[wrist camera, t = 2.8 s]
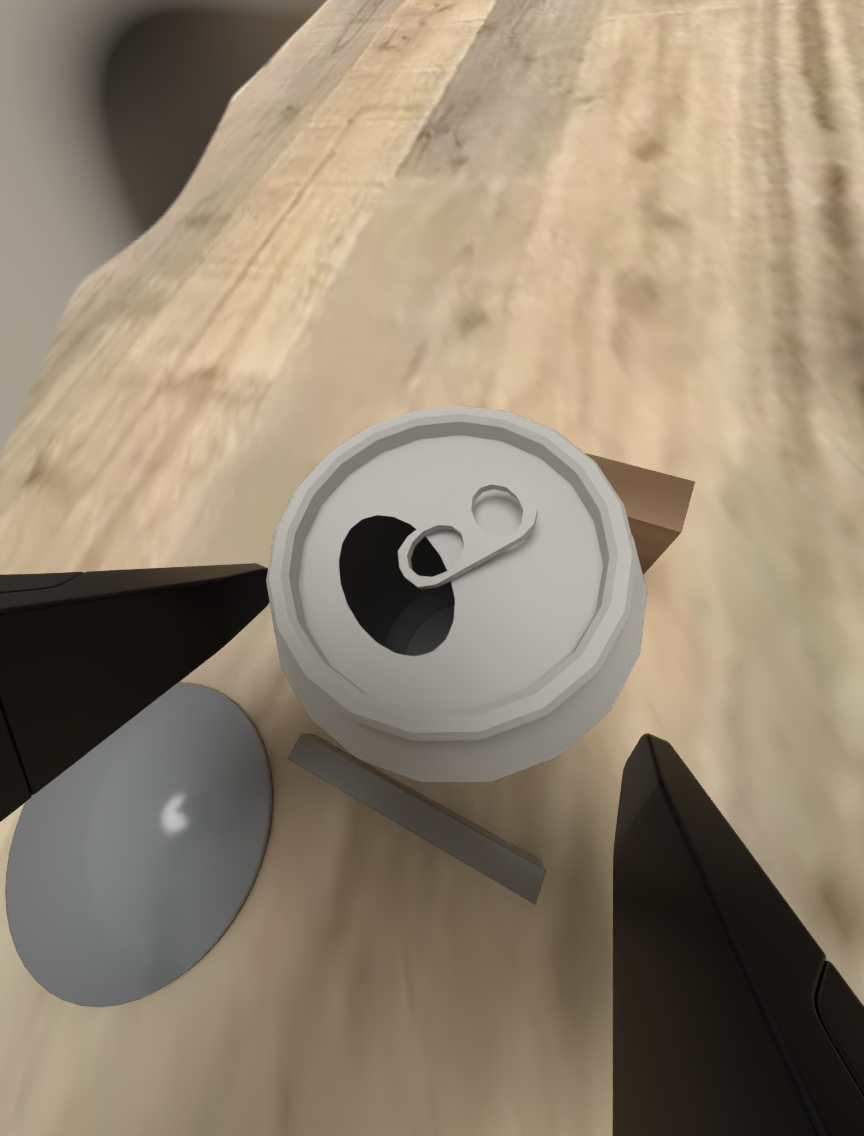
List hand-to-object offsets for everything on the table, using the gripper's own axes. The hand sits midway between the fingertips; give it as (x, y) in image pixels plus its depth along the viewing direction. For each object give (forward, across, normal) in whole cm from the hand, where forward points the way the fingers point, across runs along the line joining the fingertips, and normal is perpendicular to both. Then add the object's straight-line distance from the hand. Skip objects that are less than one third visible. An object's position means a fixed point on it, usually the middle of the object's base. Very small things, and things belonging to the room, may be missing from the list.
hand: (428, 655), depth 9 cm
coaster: (-1, +10, +13) cm, 16 cm away
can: (+7, 0, +6) cm, 9 cm away
